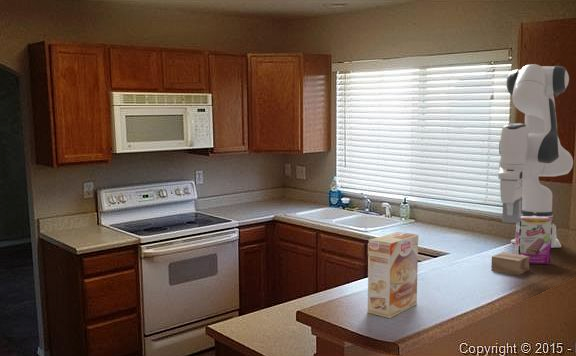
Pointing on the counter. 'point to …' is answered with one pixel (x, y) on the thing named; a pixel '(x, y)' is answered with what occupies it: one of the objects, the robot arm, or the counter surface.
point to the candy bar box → (534, 238)
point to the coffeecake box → (392, 274)
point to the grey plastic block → (516, 214)
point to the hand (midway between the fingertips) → (511, 213)
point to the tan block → (510, 263)
